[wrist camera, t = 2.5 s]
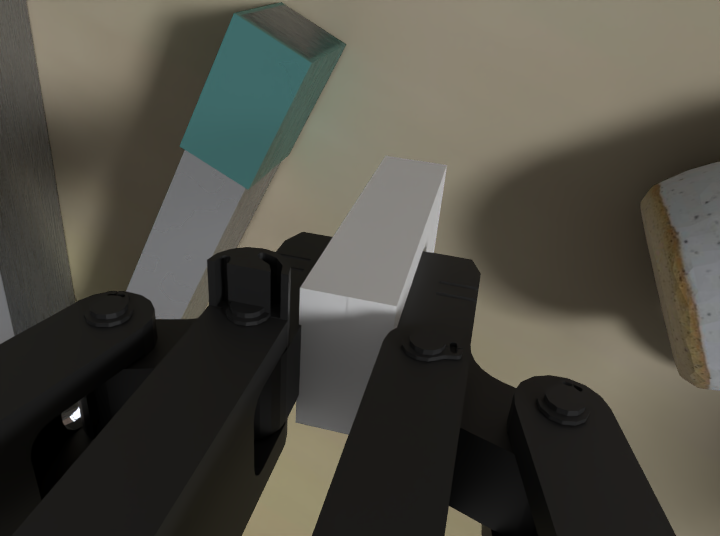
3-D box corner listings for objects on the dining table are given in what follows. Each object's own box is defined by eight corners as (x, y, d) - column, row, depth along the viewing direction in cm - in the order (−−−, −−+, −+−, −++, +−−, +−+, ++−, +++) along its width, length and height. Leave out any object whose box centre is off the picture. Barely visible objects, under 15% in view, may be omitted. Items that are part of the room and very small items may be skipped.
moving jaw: (128, 462, 36) (57, 553, 31) (27, 401, 36) (-62, 482, 31) (346, 44, 23) (288, 75, 17) (187, -59, 23) (76, -61, 17)
